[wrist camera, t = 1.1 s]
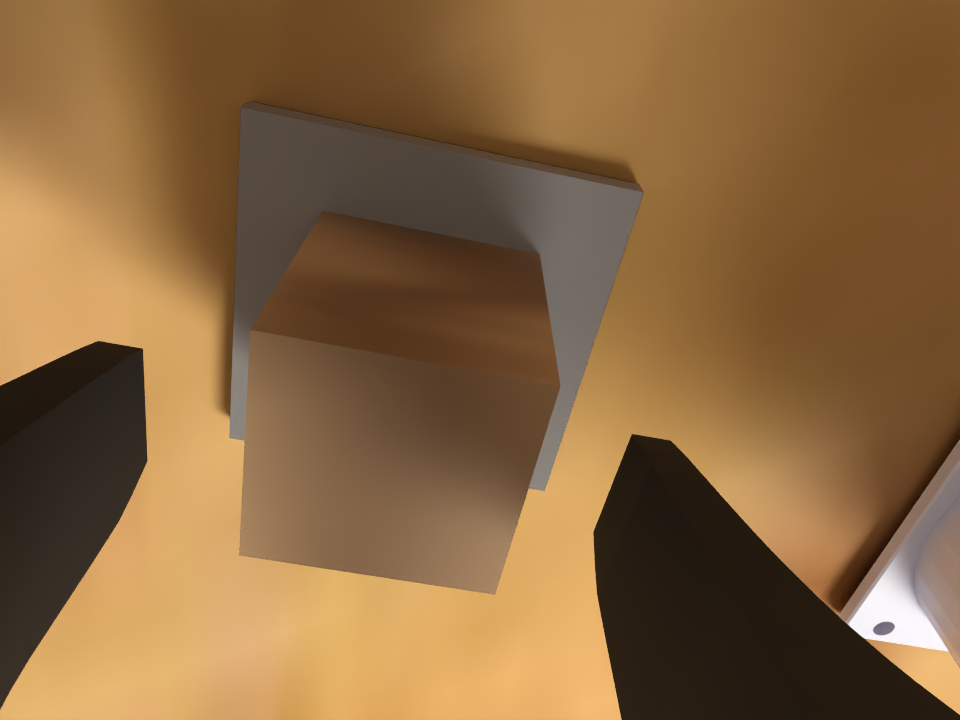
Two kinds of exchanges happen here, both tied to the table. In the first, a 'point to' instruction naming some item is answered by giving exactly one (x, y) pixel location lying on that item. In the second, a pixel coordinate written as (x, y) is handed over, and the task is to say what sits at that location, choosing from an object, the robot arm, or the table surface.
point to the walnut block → (396, 404)
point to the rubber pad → (426, 224)
